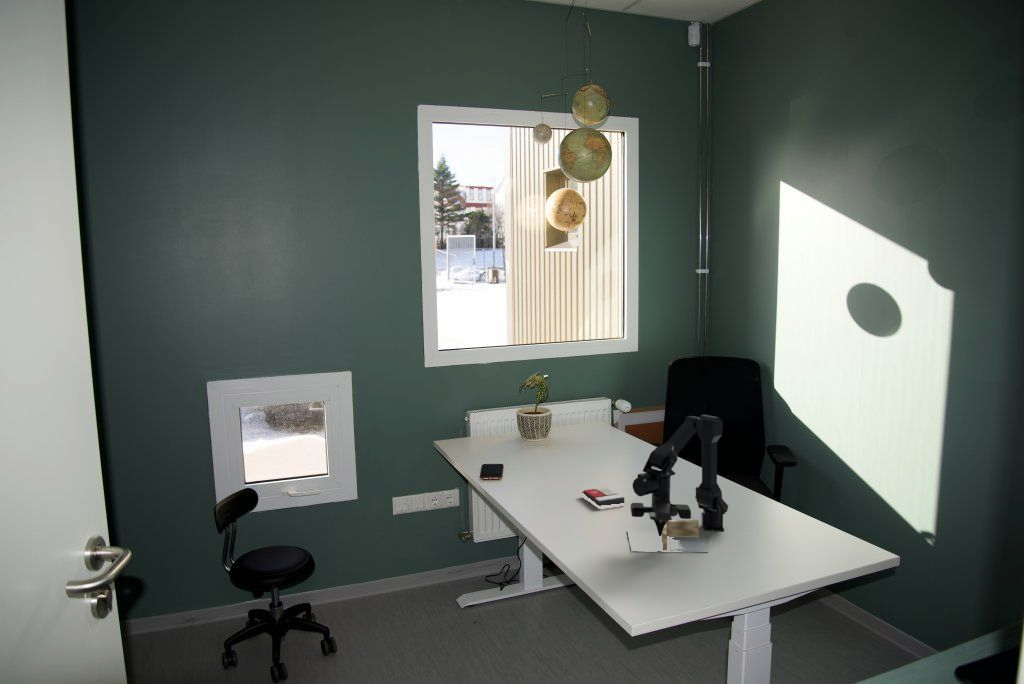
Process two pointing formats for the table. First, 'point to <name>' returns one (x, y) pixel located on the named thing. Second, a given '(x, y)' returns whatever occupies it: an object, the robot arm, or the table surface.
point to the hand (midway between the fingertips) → (659, 535)
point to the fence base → (682, 528)
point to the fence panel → (664, 538)
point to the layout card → (690, 543)
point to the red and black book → (604, 496)
